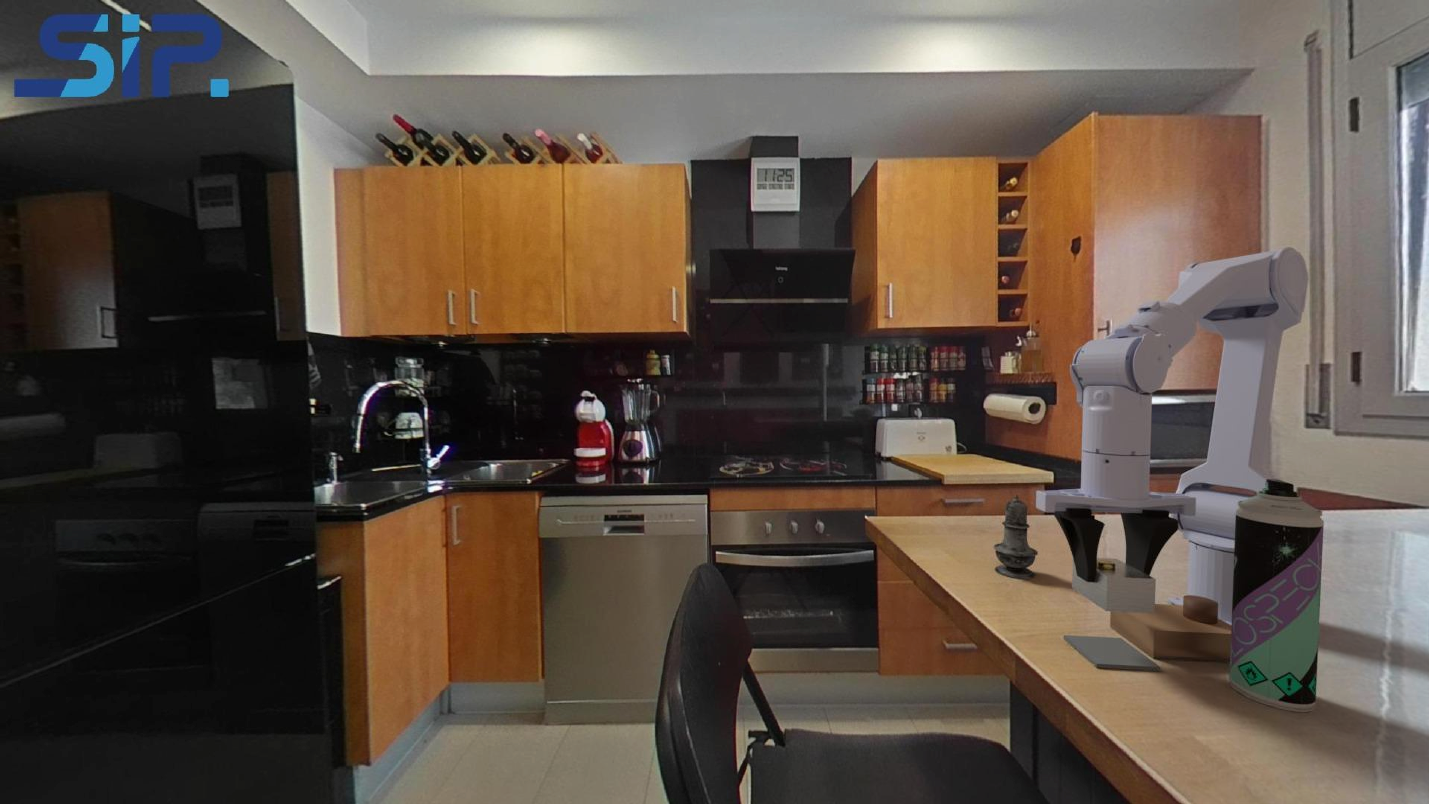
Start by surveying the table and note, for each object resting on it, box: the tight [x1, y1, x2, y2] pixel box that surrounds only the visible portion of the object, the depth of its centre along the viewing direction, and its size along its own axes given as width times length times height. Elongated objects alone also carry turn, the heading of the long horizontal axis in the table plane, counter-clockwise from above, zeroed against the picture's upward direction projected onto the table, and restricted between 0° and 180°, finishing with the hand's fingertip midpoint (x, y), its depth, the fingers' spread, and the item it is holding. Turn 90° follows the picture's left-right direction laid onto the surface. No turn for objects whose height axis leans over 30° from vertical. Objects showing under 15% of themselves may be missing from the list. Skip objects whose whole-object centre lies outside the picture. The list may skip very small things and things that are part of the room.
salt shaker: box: [993, 493, 1039, 580], centre depth 79 cm, size 6×6×12 cm
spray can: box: [1229, 479, 1325, 713], centre depth 48 cm, size 6×6×20 cm
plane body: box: [1109, 594, 1231, 663], centre depth 58 cm, size 9×7×5 cm
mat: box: [1063, 634, 1162, 672], centre depth 56 cm, size 6×6×1 cm
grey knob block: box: [1071, 557, 1157, 613], centre depth 55 cm, size 4×6×4 cm
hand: (1111, 579), depth 55 cm, fingers closed on grey knob block, 4 cm apart
